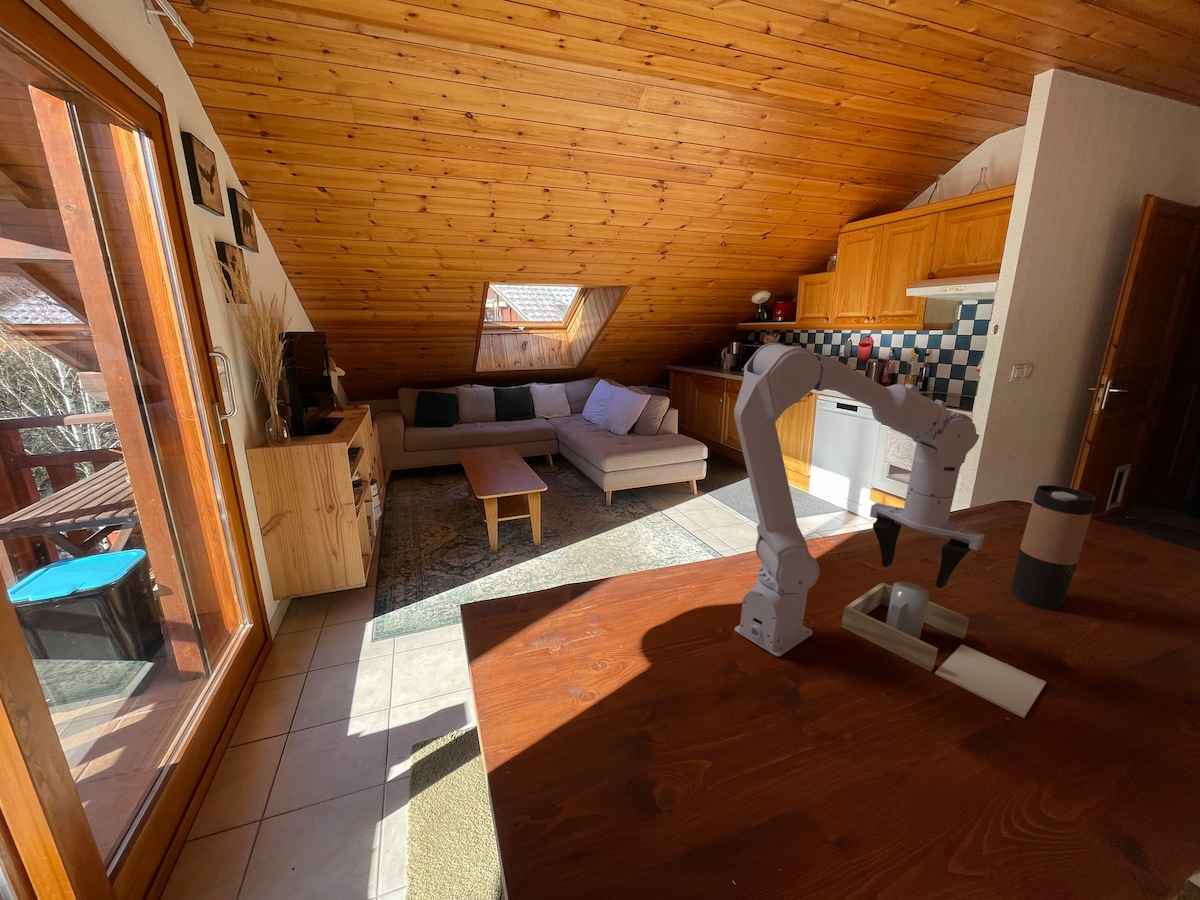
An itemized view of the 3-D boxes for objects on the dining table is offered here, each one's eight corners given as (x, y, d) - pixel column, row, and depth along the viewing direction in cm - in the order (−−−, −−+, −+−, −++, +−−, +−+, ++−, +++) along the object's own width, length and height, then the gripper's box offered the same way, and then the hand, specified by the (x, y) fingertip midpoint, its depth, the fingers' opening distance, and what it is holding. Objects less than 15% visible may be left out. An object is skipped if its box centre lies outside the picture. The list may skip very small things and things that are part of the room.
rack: (931, 671, 72) (936, 650, 71) (841, 626, 82) (844, 607, 81) (964, 637, 80) (969, 617, 79) (878, 600, 90) (882, 582, 89)
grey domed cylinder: (892, 619, 84) (901, 578, 82) (925, 634, 80) (934, 591, 78) (872, 635, 80) (880, 592, 78) (905, 651, 76) (914, 607, 74)
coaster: (1023, 718, 64) (1024, 715, 64) (935, 673, 72) (935, 671, 71) (1045, 684, 70) (1046, 681, 70) (961, 646, 78) (961, 644, 77)
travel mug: (1043, 588, 94) (1072, 486, 89) (1075, 612, 87) (1110, 502, 82) (998, 585, 95) (1025, 483, 90) (1027, 609, 88) (1058, 499, 82)
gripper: (999, 500, 72) (977, 586, 75) (890, 473, 82) (876, 549, 86) (982, 511, 67) (960, 602, 71) (870, 481, 78) (856, 561, 82)
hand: (912, 574), depth 78 cm, fingers open, 7 cm apart
